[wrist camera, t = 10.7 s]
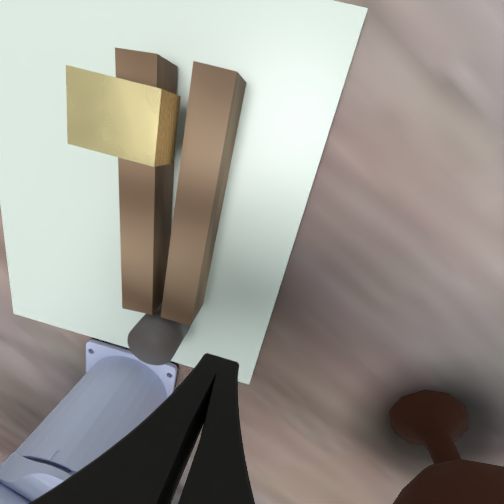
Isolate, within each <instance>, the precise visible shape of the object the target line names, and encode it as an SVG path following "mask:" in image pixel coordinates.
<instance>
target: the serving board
mask: <svg viewBox="0 0 504 504" xmlns="http://www.w3.org/2000/svg"><path fill="white" fill-rule="evenodd" d="M367 9H368V8H364V7H359V6H355V5H351V4H346V3H342V2H338V1H333V0H0V205H1V213H2V221H3V229H4V238H5V246H6V254H7V262H8V271H9V279H10V287H11V295H12V304H13V312H14V314H17V315H20V316H23V317H27V318H30V319H33V320H37V321H40V322H43V323H47V324H50V325H53V326H57V327H60V328H63V329H66V330H70V331H73V332H76V333H80V334H83V335H86V336H90V337H93V338H96V339H100V340H103V341H106V342H109V343H113V344H116V345H119V346H123V347H126V348H129V346H128V342H127V338H128V334H129V332H130V331H131V330H132V329H133V327H134V326H135V325H136V324H137V323H138V322H139V321H140V319H141V318H142V317H143V316H144V315H145V314H146V313H141V312H137V311H132V310H128V309H123V308H122V280H121V245H120V210H119V175H118V157H115V156H112V155H108V154H104V153H100V152H97V151H93V150H89V149H85V148H82V147H78V146H74V145H70V144H68V142H67V99H66V65H69V66H73V67H77V68H81V69H85V70H89V71H93V72H96V73H100V74H104V75H108V76H112V77H116V70H115V48H122V49H129V50H136V51H142V52H149V53H156V54H159V55H160V56H162V57H163V58H165V59H167V60H168V61H170V62H171V63H173V64H175V65H176V66H178V67H177V90H176V95H179V96H181V100H180V109H179V117H178V126H177V134H176V143H175V151H174V159H173V181H172V204H171V227H170V239H171V231H172V224H173V216H174V208H175V200H176V192H177V185H178V177H179V169H180V161H181V153H182V146H183V138H184V130H185V122H186V114H187V107H188V99H189V91H190V83H191V75H192V68H193V61H196V62H200V63H204V64H208V65H212V66H217V67H221V68H225V69H229V70H233V71H237V72H238V73H239V74H240V75H241V77H242V78H243V79H244V80H245V81H246V82H247V83H246V88H245V93H244V98H243V103H242V108H241V114H240V119H239V124H238V129H237V134H236V139H235V144H234V149H233V154H232V159H231V164H230V169H229V175H228V180H227V185H226V190H225V195H224V200H223V205H222V210H221V215H220V220H219V225H218V231H217V236H216V241H215V246H214V251H213V256H212V261H211V266H210V271H209V276H208V281H207V286H206V292H205V297H204V302H203V305H202V307H201V309H200V311H199V312H198V314H197V316H196V318H195V319H194V321H193V323H192V325H191V326H190V328H189V330H188V332H187V334H186V336H185V337H184V339H183V341H182V343H181V344H180V346H179V348H178V349H177V351H176V353H175V355H174V356H173V358H172V360H171V361H172V362H176V363H179V364H182V365H186V366H189V367H192V368H195V366H196V365H197V364H198V362H199V361H200V360H201V358H202V357H203V355H204V354H206V353H209V354H212V355H216V356H219V357H222V358H226V359H229V360H232V361H236V362H238V364H239V370H238V381H239V382H242V383H245V384H248V385H249V383H250V380H251V377H252V374H253V371H254V367H255V364H256V361H257V358H258V355H259V352H260V348H261V345H262V342H263V339H264V336H265V333H266V329H267V326H268V323H269V320H270V317H271V314H272V310H273V307H274V304H275V301H276V298H277V295H278V291H279V288H280V285H281V282H282V279H283V276H284V272H285V269H286V266H287V263H288V260H289V257H290V253H291V250H292V247H293V244H294V241H295V238H296V234H297V231H298V228H299V225H300V222H301V219H302V215H303V212H304V209H305V206H306V203H307V200H308V196H309V193H310V190H311V187H312V184H313V181H314V177H315V174H316V171H317V168H318V165H319V162H320V158H321V155H322V152H323V149H324V146H325V143H326V139H327V136H328V133H329V130H330V127H331V123H332V120H333V117H334V114H335V111H336V108H337V104H338V101H339V98H340V95H341V92H342V89H343V85H344V82H345V79H346V76H347V73H348V70H349V66H350V63H351V60H352V57H353V54H354V51H355V47H356V44H357V41H358V38H359V35H360V32H361V28H362V25H363V22H364V19H365V16H366V13H367ZM129 349H130V348H129Z"/></svg>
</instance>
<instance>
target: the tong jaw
mask: <svg viewBox="0 0 504 504" xmlns="http://www.w3.org/2000/svg"><path fill="white" fill-rule="evenodd" d="M177 67H178V66H176V65H175V64H173V63H171V62H170V61H168V60H167V59H165V58H163V57H162V56H160V55H159V54H156V53H149V52H142V51H136V50H129V49H122V48H115V70H116V78H120V79H124V80H128V81H132V82H136V83H140V84H144V85H148V86H152V87H156V88H160V89H163V90H166V91H168V92H171V93H173V94H176V90H177ZM118 175H119V210H120V245H121V280H122V308H123V309H128V310H132V311H137V312H141V313H146V314H150V315H152V314H153V313H154V312H155V311H156V310H157V308H158V307H159V306H160V305H161V304H162V301H163V294H164V286H165V278H166V270H167V262H168V255H169V247H170V227H171V204H172V181H173V164H167V165H162V166H156V167H153V166H149V165H145V164H141V163H138V162H134V161H130V160H126V159H123V158H119V157H118Z"/></svg>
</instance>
